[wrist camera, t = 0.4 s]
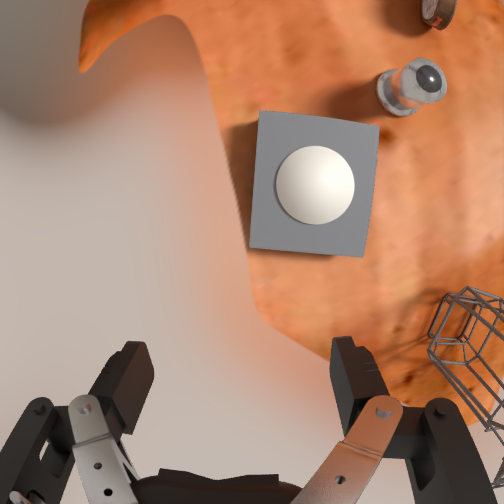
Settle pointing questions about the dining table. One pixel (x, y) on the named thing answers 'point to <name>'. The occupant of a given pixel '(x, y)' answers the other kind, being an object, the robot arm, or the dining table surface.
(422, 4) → the tin
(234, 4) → the dining table surface
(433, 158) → the dining table surface
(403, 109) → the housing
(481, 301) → the geometric lantern
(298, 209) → the stand
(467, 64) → the dining table surface
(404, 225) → the dining table surface
